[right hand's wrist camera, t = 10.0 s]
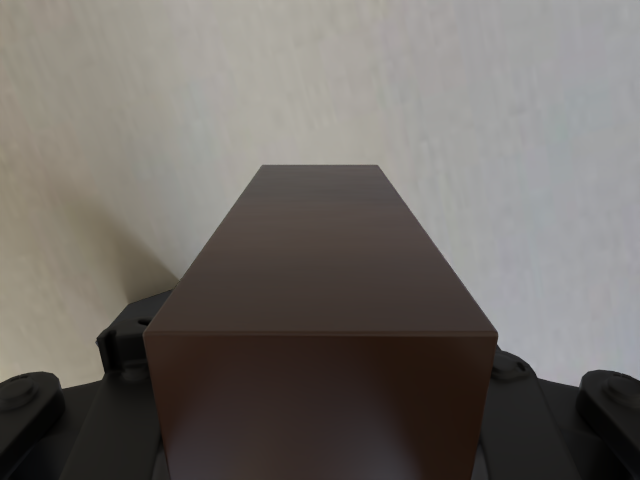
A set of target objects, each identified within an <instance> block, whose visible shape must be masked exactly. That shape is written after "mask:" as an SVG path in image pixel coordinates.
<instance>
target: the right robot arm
mask: <svg viewBox="0 0 640 480" xmlns="http://www.w3.org/2000/svg"><path fill="white" fill-rule="evenodd" d="M153 318H154V316H139V317H134V318H129V319H125V320H123V321H120V322H117V323H115V324H113V325H111V326H110V327H108V328H107V329H105V330H103V331H102V333H101V334H100V335H99V336H98V337H97V342H98V347H99V351H100V355H101V359H102V363H103V368H104V372H105V374H104V377H103V379H102V380H100V381H96V382H93V383H88V384H84V385H79V386H74V387H69V388H65V389H62V388H61V385H60V381H59V379H58V378H57V377H56V376H55V375H54V374H53V373H47V372H32V373H26V374H21V375H18V376H15V377H12V378H10V379H8V380H6V381H4V382H2V383H0V480H170V478H169V473H168V467H167V462H166V457H165V451H164V446H163V441H162V436H161V430H160V425H159V420H158V414H157V409H156V404H155V398H154V393H153V388H152V383H151V377H150V372H149V367H148V361H147V356H146V351H145V345H144V340H143V332H144V331H145V329H146V328H147V326H148V325H149V324H150V322H151V321H152V319H153ZM471 480H640V381H639V380H637V379H635V378H633V377H631V376H629V375H626V374H623V373H622V374H621V373H619V372H614V371H606V370H595V371H589V372H587V373H586V374H585V375H584V376H583V377H582V379H581V383H580V386H579V387H574V386H570V385H565V384H560V383H555V382H551V381H547V380H543V379H540V378H537V376H536V374H535V372H534V371H533V369H532V368H531V367H530V365H529V364H528V363H526V362H525V361H524V360H522V359H521V358H519V357H518V356H515V355H513V354H511V353H508V352H506V351H501V349H500V348H499V346H498V345H497V346H496V351H495V356H494V362H493V367H492V372H491V377H490V383H489V388H488V393H487V398H486V404H485V409H484V414H483V419H482V425H481V430H480V435H479V441H478V446H477V451H476V456H475V462H474V467H473V472H472V477H471Z"/></svg>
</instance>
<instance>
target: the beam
mask: <svg viewBox="0 0 640 480" xmlns="http://www.w3.org/2000/svg"><path fill="white" fill-rule="evenodd" d="M143 340H144V345H145V351H146V356H147V361H148V367H149V372H150V377H151V383H152V388H153V393H154V398H155V404H156V409H157V414H158V420H159V425H160V430H161V436H162V441H163V446H164V451H165V457H166V462H167V467H168V473H169V478H170V480H471V477H472V472H473V467H474V462H475V456H476V451H477V446H478V441H479V435H480V430H481V425H482V419H483V414H484V409H485V404H486V398H487V393H488V388H489V383H490V377H491V372H492V367H493V362H494V356H495V351H496V346H497V341H498V332H497V330H496V329H495V328H494V326H493V325H492V324H491V322H490V321H489V319H488V318H487V317H486V315H485V314H484V312H483V311H482V310H481V308H480V307H479V305H478V304H477V303H476V301H475V300H474V298H473V297H472V296H471V294H470V293H469V291H468V290H467V289H466V287H465V286H464V284H463V283H462V282H461V280H460V279H459V277H458V276H457V275H456V273H455V272H454V271H453V269H452V268H451V266H450V265H449V264H448V262H447V261H446V259H445V258H444V257H443V255H442V254H441V252H440V251H439V250H438V248H437V247H436V245H435V244H434V243H433V241H432V240H431V238H430V237H429V236H428V234H427V233H426V231H425V230H424V229H423V227H422V226H421V224H420V223H419V222H418V220H417V219H416V218H415V216H414V215H413V213H412V212H411V211H410V209H409V208H408V206H407V205H406V204H405V202H404V201H403V199H402V198H401V197H400V195H399V194H398V192H397V191H396V190H395V188H394V187H393V185H392V184H391V183H390V181H389V180H388V178H387V177H386V176H385V174H384V173H383V171H382V170H381V169H380V167H379V166H378V165H262V166H261V167H260V169H259V170H258V172H257V173H256V174H255V176H254V177H253V179H252V180H251V182H250V183H249V184H248V186H247V187H246V189H245V190H244V191H243V193H242V194H241V196H240V197H239V198H238V200H237V201H236V203H235V204H234V205H233V207H232V208H231V210H230V211H229V212H228V214H227V215H226V217H225V218H224V220H223V221H222V222H221V224H220V225H219V227H218V228H217V229H216V231H215V232H214V234H213V235H212V236H211V238H210V239H209V241H208V242H207V243H206V245H205V246H204V248H203V249H202V250H201V252H200V253H199V255H198V256H197V258H196V259H195V260H194V262H193V263H192V265H191V266H190V267H189V269H188V270H187V272H186V273H185V274H184V276H183V277H182V279H181V280H180V281H179V283H178V284H177V286H176V287H175V288H174V290H173V291H172V293H171V294H170V296H169V297H168V298H167V300H166V301H165V303H164V304H163V305H162V307H161V308H160V310H159V311H158V312H157V314H156V315H155V317H154V318H153V319H152V321H151V322H150V324H149V325H148V326H147V328H146V329H145V331H144V332H143Z"/></svg>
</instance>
